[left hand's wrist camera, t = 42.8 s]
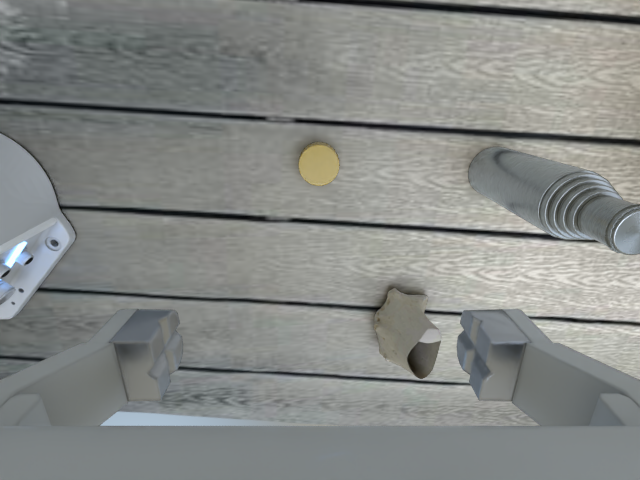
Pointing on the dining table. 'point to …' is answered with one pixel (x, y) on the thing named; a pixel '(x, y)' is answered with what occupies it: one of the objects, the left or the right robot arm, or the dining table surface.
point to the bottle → (557, 198)
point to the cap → (318, 164)
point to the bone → (407, 333)
